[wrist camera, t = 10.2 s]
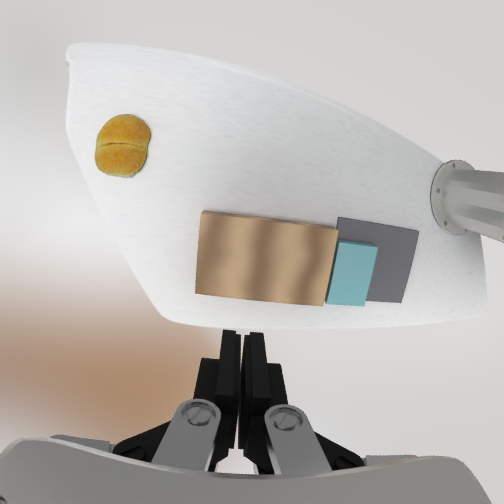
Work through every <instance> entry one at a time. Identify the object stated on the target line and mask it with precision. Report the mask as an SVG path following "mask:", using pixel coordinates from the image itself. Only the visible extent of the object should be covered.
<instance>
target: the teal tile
mask: <svg viewBox="0 0 504 504" xmlns="http://www.w3.org/2000/svg"><path fill="white" fill-rule="evenodd" d="M377 250H378V247H376V246H375V245H373V244H368V243H361V242H353V241H345V240H337V242H336V247H335V252H334V258H333V263H332V267H331V272H330V277H329V282H328V286H327V291H326V295H325V302H326V303H327V304H335V305H352V306H364V304H365V301H366V297H367V293H368V289H369V285H370V281H371V277H372V272H373V268H374V264H375V259H376V254H377Z"/></svg>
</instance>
